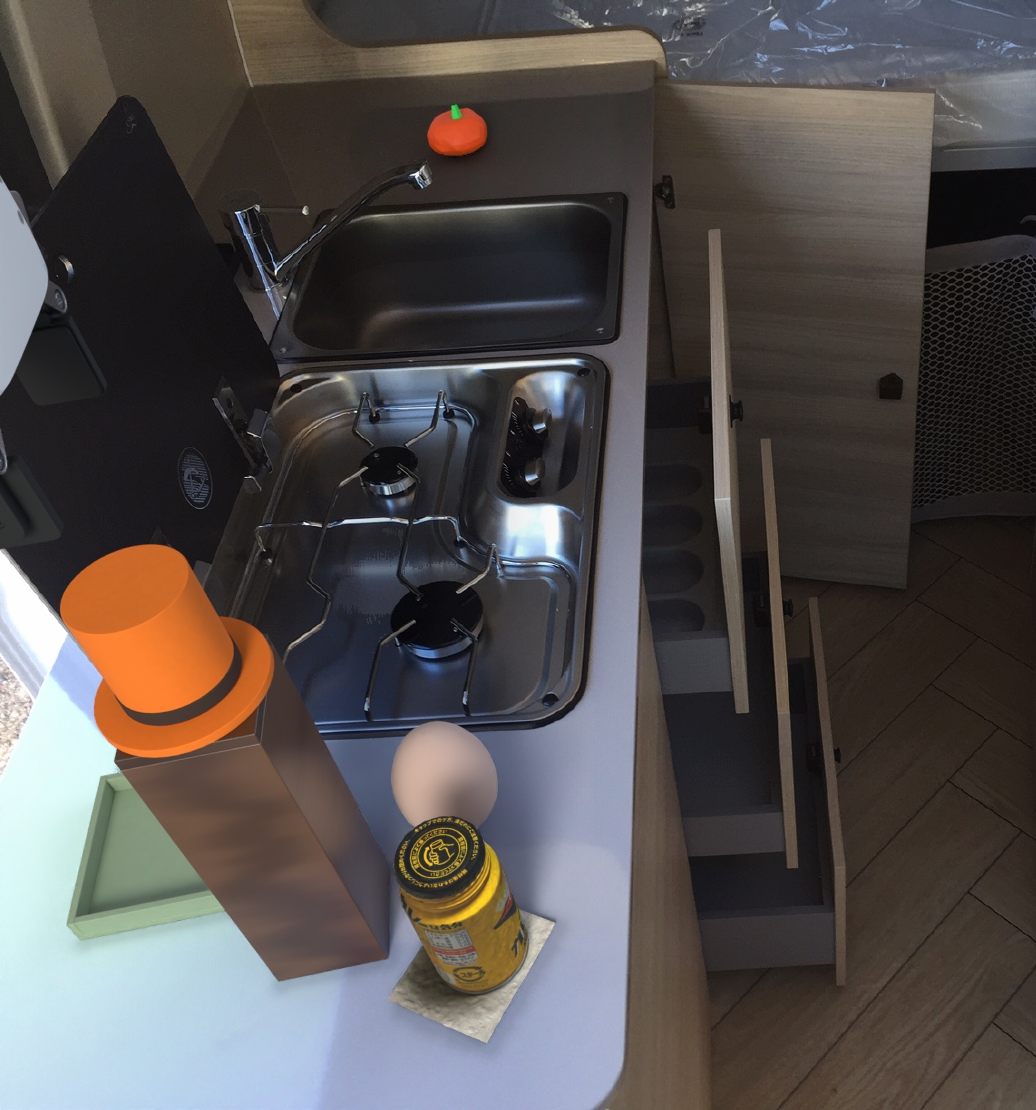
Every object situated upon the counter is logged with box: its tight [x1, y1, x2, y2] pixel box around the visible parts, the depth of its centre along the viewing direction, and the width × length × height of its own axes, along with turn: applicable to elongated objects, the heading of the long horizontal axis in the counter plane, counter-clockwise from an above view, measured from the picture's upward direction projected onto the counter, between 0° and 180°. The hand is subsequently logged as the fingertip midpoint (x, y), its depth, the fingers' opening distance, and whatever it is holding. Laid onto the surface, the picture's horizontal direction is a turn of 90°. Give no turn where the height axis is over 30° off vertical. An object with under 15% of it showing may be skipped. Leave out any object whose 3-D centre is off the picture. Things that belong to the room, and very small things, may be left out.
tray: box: [65, 771, 226, 941], centre depth 84 cm, size 12×12×2 cm
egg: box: [390, 720, 499, 829], centre depth 81 cm, size 7×7×10 cm
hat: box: [59, 544, 274, 758], centre depth 61 cm, size 9×9×8 cm
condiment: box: [387, 816, 556, 1044], centre depth 73 cm, size 7×8×12 cm
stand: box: [113, 633, 391, 982], centre depth 71 cm, size 7×7×24 cm
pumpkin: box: [426, 103, 488, 158], centre depth 156 cm, size 7×8×6 cm
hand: (50, 464), depth 52 cm, fingers open, 9 cm apart
